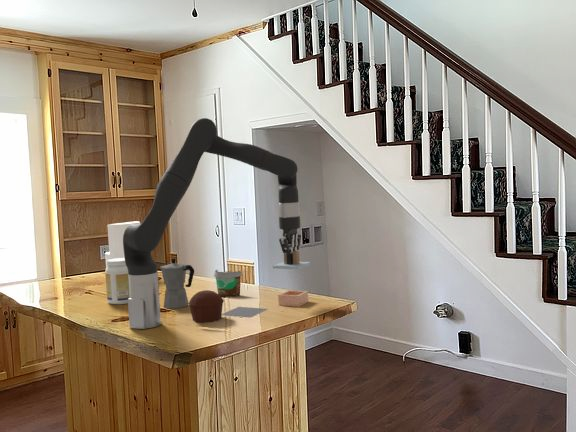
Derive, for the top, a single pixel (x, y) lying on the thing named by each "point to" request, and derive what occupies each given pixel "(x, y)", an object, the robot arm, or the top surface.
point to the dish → (293, 298)
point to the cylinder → (116, 240)
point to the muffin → (206, 306)
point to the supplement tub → (117, 281)
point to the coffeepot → (176, 284)
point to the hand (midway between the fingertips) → (291, 263)
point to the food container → (228, 283)
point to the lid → (295, 264)
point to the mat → (244, 312)
